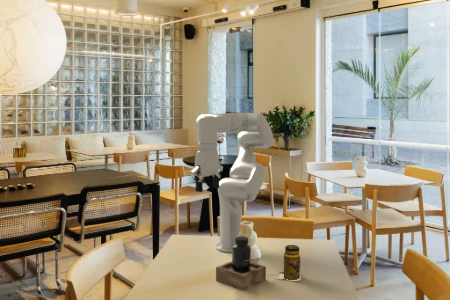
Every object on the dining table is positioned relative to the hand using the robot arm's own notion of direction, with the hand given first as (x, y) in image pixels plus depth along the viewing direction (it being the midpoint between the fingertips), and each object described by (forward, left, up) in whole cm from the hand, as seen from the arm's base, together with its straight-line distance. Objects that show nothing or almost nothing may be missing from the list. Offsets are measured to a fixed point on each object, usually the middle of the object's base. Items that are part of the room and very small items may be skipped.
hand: (207, 189), depth 197 cm
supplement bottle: (+5, +22, -26) cm, 35 cm away
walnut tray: (+5, +22, -30) cm, 38 cm away
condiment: (-10, +33, -30) cm, 46 cm away
